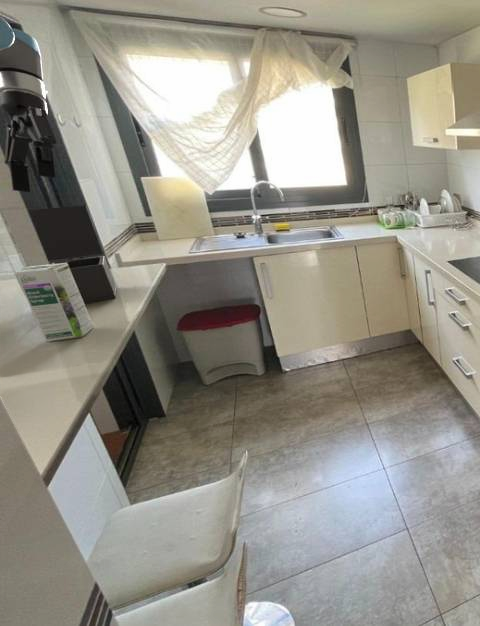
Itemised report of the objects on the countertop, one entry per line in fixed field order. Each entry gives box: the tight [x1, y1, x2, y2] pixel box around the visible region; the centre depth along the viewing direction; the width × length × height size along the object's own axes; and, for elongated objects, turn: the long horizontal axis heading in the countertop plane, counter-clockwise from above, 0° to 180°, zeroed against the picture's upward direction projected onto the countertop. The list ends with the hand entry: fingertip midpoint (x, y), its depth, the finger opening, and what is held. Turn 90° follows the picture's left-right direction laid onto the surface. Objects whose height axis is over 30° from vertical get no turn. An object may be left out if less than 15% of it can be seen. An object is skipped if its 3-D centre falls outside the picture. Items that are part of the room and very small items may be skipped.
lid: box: [27, 205, 105, 262], centre depth 115 cm, size 12×10×1 cm
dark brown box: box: [48, 255, 117, 304], centre depth 114 cm, size 12×10×9 cm
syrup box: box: [14, 263, 94, 343], centre depth 91 cm, size 6×6×14 cm
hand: (33, 184), depth 109 cm, fingers open, 13 cm apart
